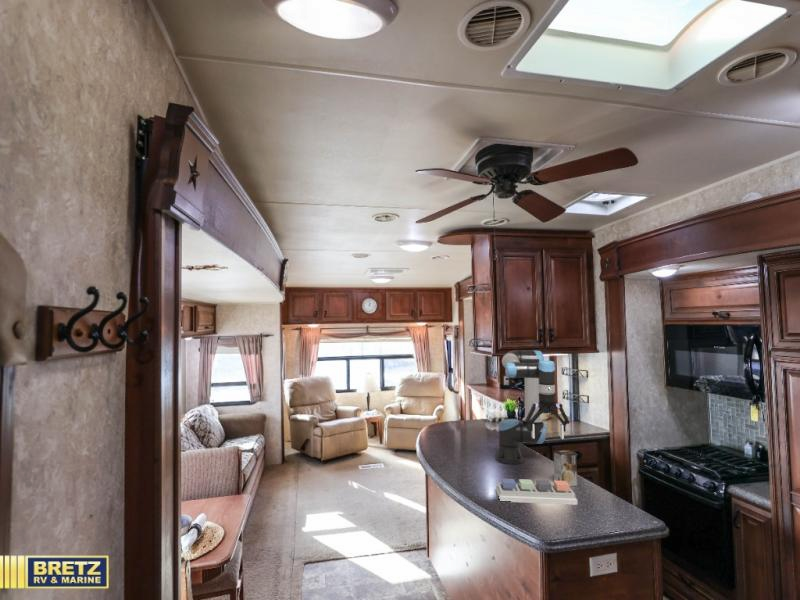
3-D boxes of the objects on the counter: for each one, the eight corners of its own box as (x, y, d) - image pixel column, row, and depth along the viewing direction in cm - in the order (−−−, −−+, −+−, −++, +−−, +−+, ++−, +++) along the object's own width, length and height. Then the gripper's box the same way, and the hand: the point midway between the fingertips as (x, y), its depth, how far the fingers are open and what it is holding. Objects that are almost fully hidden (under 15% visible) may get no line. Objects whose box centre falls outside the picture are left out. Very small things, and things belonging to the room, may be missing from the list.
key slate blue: (501, 483, 203) (501, 478, 203) (513, 484, 202) (513, 478, 202) (503, 488, 197) (503, 482, 197) (516, 488, 197) (515, 483, 197)
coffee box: (569, 481, 219) (568, 449, 220) (577, 485, 213) (577, 453, 214) (553, 483, 217) (553, 450, 217) (561, 487, 210) (561, 454, 211)
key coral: (553, 485, 201) (553, 480, 201) (566, 486, 200) (565, 480, 200) (557, 490, 195) (557, 484, 195) (569, 490, 195) (569, 485, 195)
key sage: (519, 484, 202) (518, 479, 202) (531, 485, 202) (531, 479, 202) (521, 489, 196) (521, 483, 197) (533, 489, 196) (533, 484, 196)
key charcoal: (536, 485, 201) (536, 479, 201) (548, 485, 201) (548, 480, 201) (539, 489, 196) (539, 484, 196) (551, 490, 195) (551, 484, 195)
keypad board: (496, 490, 206) (496, 481, 206) (568, 493, 203) (568, 484, 204) (500, 501, 193) (500, 492, 194) (577, 504, 190) (577, 495, 191)
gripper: (522, 394, 202) (522, 439, 201) (576, 394, 201) (576, 440, 200) (518, 391, 210) (519, 435, 209) (570, 392, 209) (571, 436, 207)
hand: (547, 438), depth 204 cm, fingers open, 13 cm apart
